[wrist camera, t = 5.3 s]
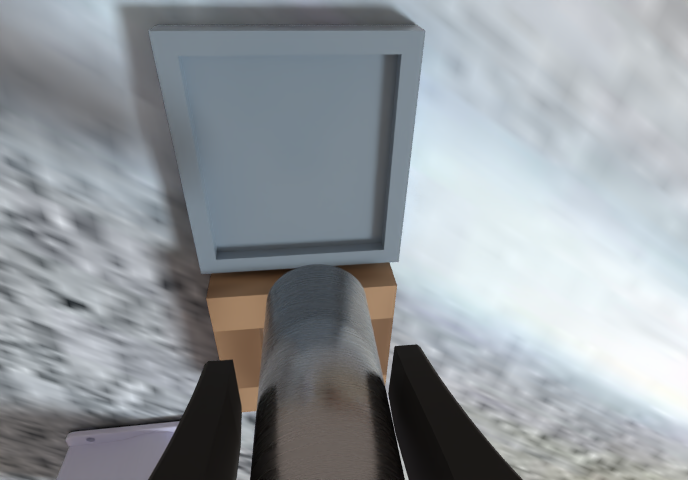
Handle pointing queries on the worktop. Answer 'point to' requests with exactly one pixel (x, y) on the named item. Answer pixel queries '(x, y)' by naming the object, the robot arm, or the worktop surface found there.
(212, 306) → the socket block
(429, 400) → the robot arm
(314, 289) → the pin
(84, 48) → the worktop surface
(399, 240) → the dish
